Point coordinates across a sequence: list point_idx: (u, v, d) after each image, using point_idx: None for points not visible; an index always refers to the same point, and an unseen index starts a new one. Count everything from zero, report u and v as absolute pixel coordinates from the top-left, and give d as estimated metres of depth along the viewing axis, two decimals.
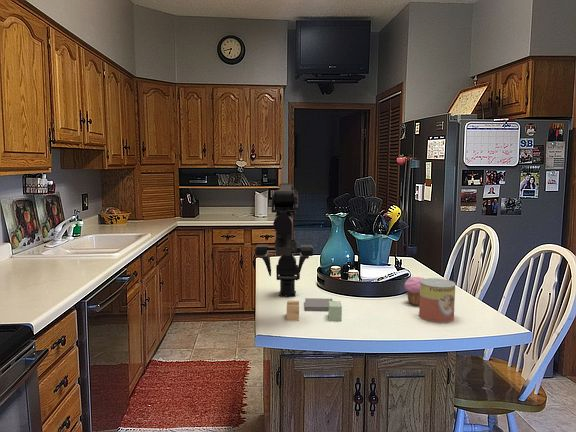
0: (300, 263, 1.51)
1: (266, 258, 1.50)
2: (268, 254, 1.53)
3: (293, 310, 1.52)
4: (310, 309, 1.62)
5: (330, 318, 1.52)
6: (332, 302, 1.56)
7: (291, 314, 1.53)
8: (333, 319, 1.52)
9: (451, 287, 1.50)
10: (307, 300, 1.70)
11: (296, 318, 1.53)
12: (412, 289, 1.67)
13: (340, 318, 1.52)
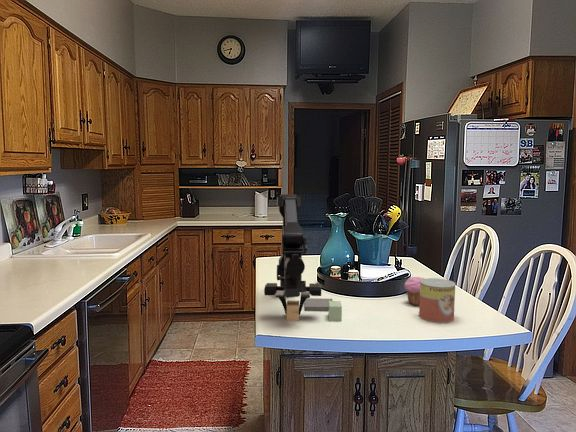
0: (301, 302, 1.54)
1: (283, 298, 1.53)
2: (284, 293, 1.56)
3: (293, 310, 1.52)
4: (310, 309, 1.62)
5: (330, 318, 1.52)
6: (332, 302, 1.56)
7: (291, 314, 1.53)
8: (333, 319, 1.52)
9: (451, 287, 1.50)
10: (307, 300, 1.70)
11: (296, 318, 1.53)
12: (412, 289, 1.67)
13: (340, 318, 1.52)
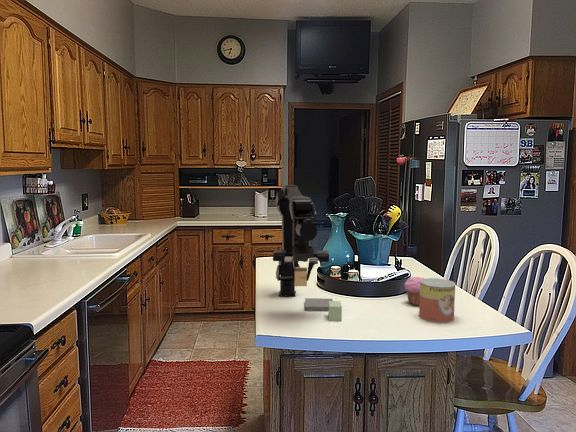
0: (309, 268, 1.56)
1: (291, 263, 1.55)
2: (292, 259, 1.58)
3: (301, 275, 1.55)
4: (310, 309, 1.62)
5: (330, 318, 1.52)
6: (332, 302, 1.56)
7: (299, 279, 1.55)
8: (333, 319, 1.52)
9: (451, 287, 1.50)
10: (307, 300, 1.70)
11: (304, 283, 1.55)
12: (412, 289, 1.67)
13: (340, 318, 1.52)
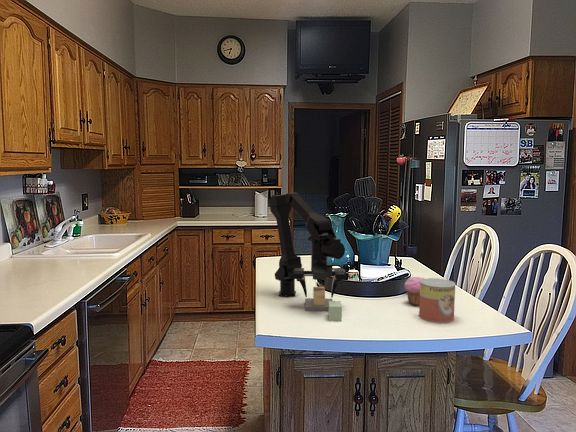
0: (334, 285, 1.65)
1: (303, 281, 1.64)
2: (304, 277, 1.67)
3: (319, 295, 1.64)
4: (310, 309, 1.62)
5: (330, 318, 1.52)
6: (332, 302, 1.56)
7: (318, 299, 1.64)
8: (333, 319, 1.52)
9: (451, 287, 1.50)
10: (307, 300, 1.70)
11: (322, 302, 1.64)
12: (412, 289, 1.67)
13: (340, 318, 1.52)
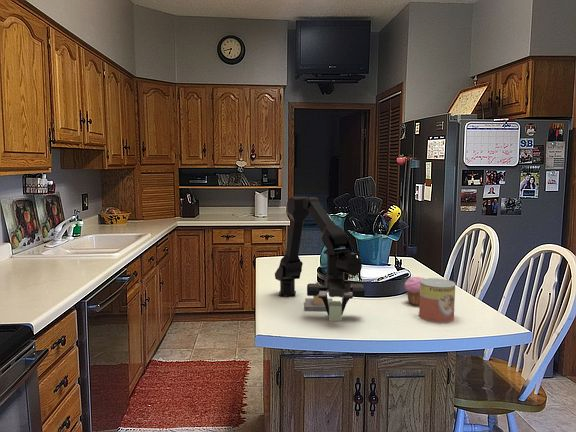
0: (344, 303, 1.53)
1: (325, 298, 1.52)
2: (326, 293, 1.55)
3: None
4: (310, 309, 1.62)
5: (330, 318, 1.52)
6: (333, 302, 1.56)
7: (318, 299, 1.64)
8: (333, 319, 1.52)
9: (451, 287, 1.50)
10: (307, 300, 1.70)
11: (322, 302, 1.64)
12: (412, 289, 1.67)
13: (340, 318, 1.52)
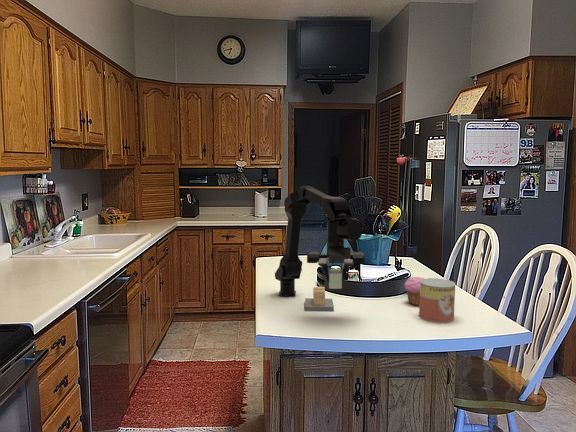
0: (344, 270, 1.52)
1: (325, 265, 1.51)
2: (326, 261, 1.54)
3: (319, 295, 1.64)
4: (310, 309, 1.62)
5: (330, 285, 1.51)
6: (333, 270, 1.55)
7: (318, 299, 1.64)
8: (333, 286, 1.51)
9: (451, 287, 1.50)
10: (307, 300, 1.70)
11: (322, 302, 1.64)
12: (412, 289, 1.67)
13: (340, 285, 1.51)
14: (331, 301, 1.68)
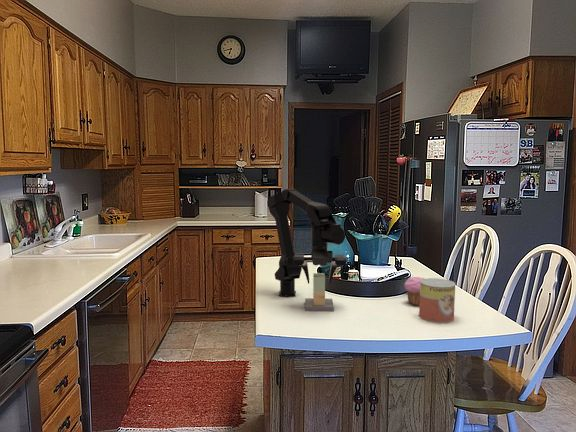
0: (332, 272, 1.64)
1: (305, 267, 1.63)
2: None
3: (319, 295, 1.64)
4: (310, 309, 1.62)
5: (314, 288, 1.64)
6: (317, 274, 1.67)
7: (318, 299, 1.64)
8: (317, 289, 1.64)
9: (451, 287, 1.50)
10: (307, 300, 1.70)
11: (322, 302, 1.64)
12: (412, 289, 1.67)
13: (323, 288, 1.63)
14: (331, 301, 1.68)
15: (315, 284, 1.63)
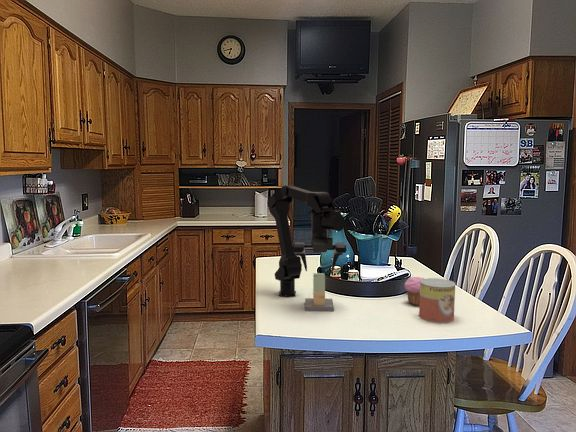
0: (334, 259, 1.64)
1: (303, 255, 1.63)
2: (304, 251, 1.66)
3: (319, 295, 1.64)
4: (310, 309, 1.62)
5: (314, 288, 1.64)
6: (317, 274, 1.67)
7: (318, 299, 1.64)
8: (317, 289, 1.64)
9: (451, 287, 1.50)
10: (307, 300, 1.70)
11: (322, 302, 1.64)
12: (412, 289, 1.67)
13: (323, 288, 1.63)
14: (331, 301, 1.68)
15: (315, 284, 1.63)
